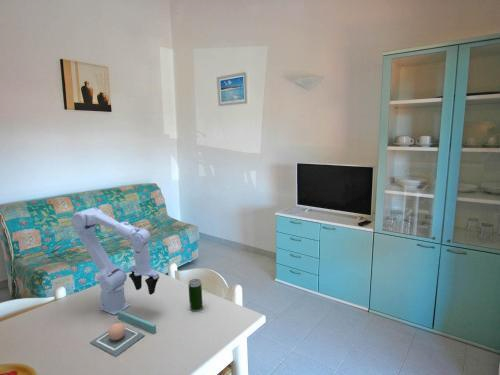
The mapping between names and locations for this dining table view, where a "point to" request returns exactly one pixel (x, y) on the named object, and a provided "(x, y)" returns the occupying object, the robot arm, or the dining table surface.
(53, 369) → the dining table surface
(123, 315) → the acrylic wall
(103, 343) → the rubber mat
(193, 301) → the beer can
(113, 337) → the ball
